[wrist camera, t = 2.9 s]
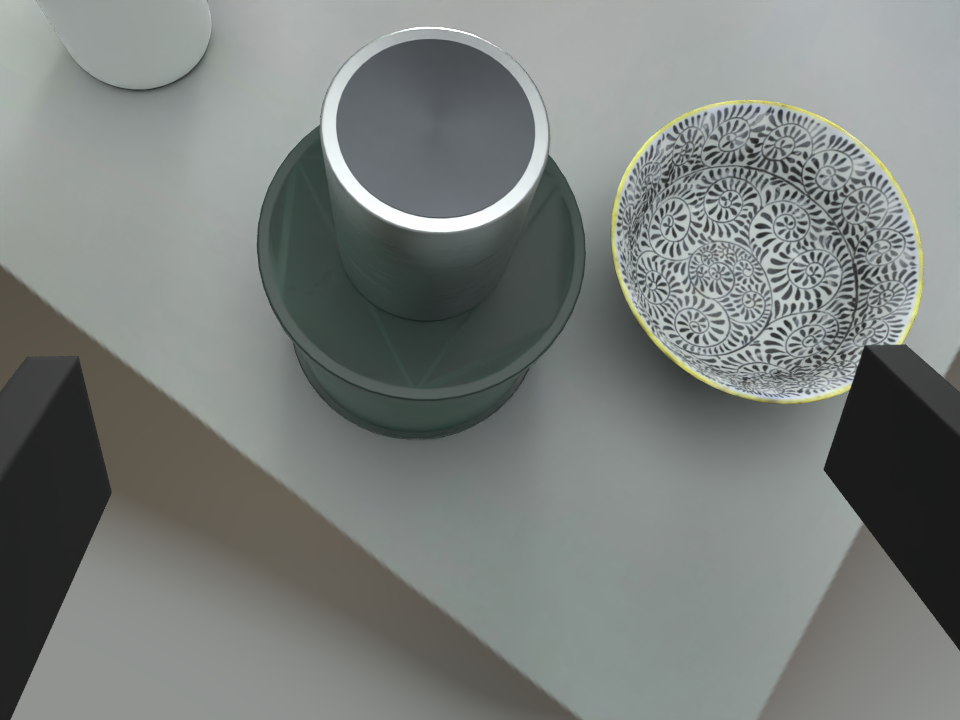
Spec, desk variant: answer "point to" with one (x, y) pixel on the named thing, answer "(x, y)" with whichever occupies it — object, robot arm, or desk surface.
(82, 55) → the cup
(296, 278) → the bucket
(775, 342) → the bowl
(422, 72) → the silver cup
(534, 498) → the desk surface
